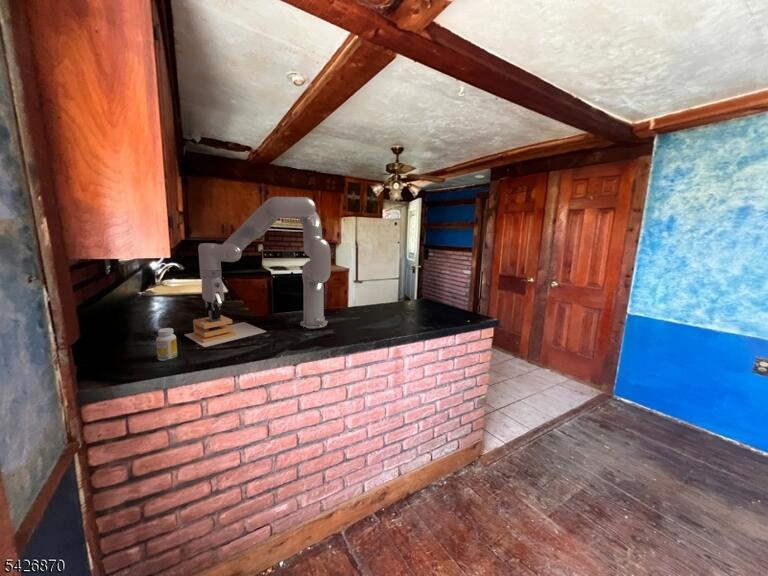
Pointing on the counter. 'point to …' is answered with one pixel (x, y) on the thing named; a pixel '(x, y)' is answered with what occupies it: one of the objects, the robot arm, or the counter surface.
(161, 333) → the supplement bottle
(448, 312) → the counter surface
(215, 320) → the pin
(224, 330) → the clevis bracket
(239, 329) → the mat
